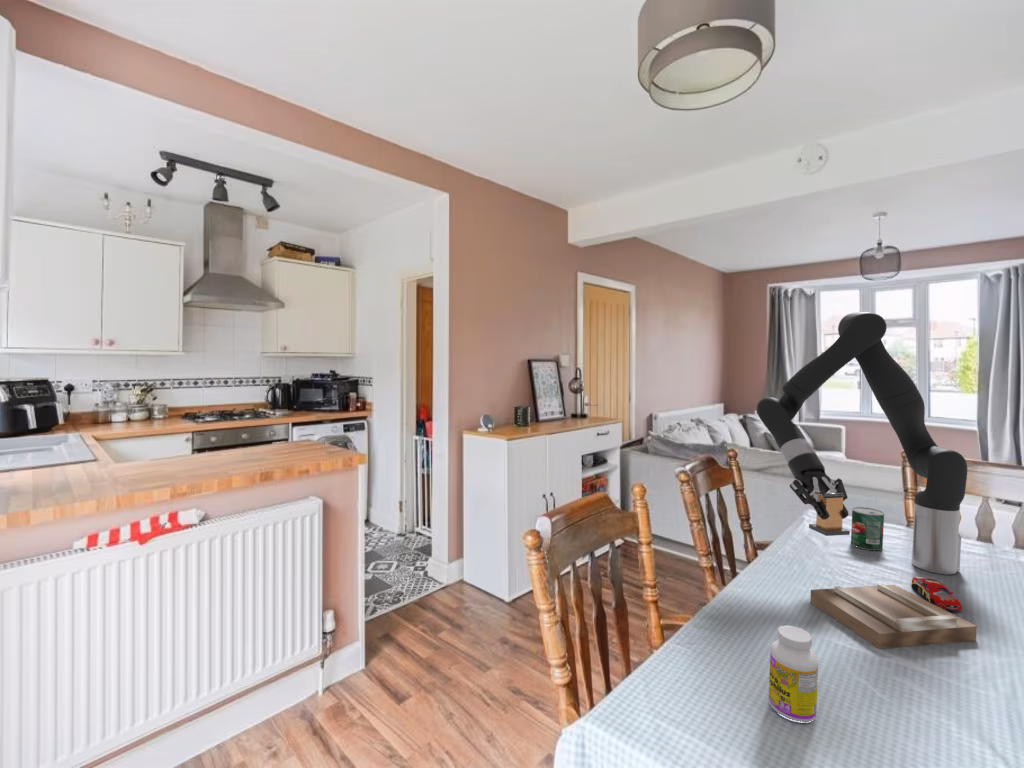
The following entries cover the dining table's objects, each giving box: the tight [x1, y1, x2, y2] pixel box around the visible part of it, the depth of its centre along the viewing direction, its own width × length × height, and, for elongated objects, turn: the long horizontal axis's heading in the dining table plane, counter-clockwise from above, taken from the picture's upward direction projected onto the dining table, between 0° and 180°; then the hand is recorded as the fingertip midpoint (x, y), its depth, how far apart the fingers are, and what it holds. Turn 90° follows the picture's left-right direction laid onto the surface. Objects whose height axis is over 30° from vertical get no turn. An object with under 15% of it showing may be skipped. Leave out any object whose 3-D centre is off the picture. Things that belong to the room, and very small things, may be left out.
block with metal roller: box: [808, 492, 851, 537], centre depth 119 cm, size 6×6×10 cm
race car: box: [911, 576, 963, 613], centre depth 112 cm, size 13×5×4 cm, turn 162°
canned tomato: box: [850, 506, 885, 551], centre depth 145 cm, size 8×8×11 cm
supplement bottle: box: [768, 624, 819, 722], centre depth 76 cm, size 7×7×13 cm
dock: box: [809, 583, 978, 649], centre depth 103 cm, size 22×18×5 cm
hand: (835, 517), depth 117 cm, fingers closed on block with metal roller, 4 cm apart
